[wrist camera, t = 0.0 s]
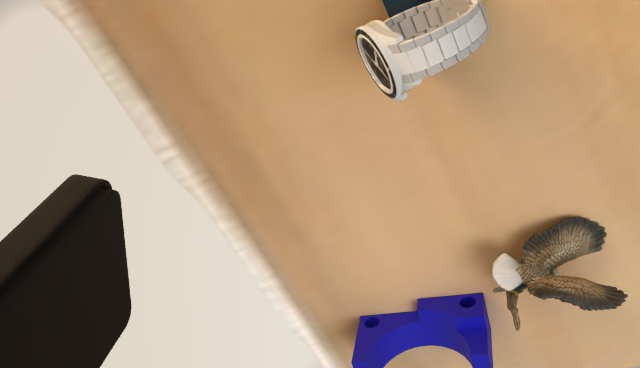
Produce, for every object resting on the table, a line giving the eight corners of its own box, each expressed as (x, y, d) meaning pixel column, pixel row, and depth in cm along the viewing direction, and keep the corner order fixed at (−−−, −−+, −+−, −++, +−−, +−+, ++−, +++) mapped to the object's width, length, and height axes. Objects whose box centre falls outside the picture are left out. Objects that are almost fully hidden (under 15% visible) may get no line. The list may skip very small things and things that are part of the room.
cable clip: (483, 292, 56) (485, 340, 51) (490, 329, 58) (493, 379, 53) (356, 304, 59) (347, 350, 54) (368, 338, 62) (359, 385, 56)
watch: (359, -7, 44) (332, 42, 35) (467, -55, 41) (470, -16, 32) (389, 63, 46) (371, 126, 37) (494, 22, 43) (504, 79, 34)
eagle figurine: (531, 318, 55) (636, 296, 49) (502, 341, 49) (617, 319, 44) (501, 237, 56) (601, 206, 50) (469, 250, 50) (578, 217, 45)
